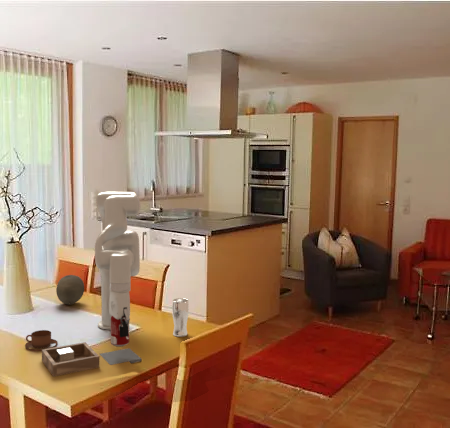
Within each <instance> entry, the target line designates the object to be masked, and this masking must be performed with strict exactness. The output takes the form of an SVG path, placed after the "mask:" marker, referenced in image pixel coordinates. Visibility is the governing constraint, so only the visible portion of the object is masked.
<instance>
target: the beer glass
mask: <svg viewBox="0 0 450 428" xmlns="http://www.w3.org/2000/svg"><path fill="white" fill-rule="evenodd" d="M189 307H190V306H189V299H188V298H181V297H178V298H174V299H173V300H172V306H171V310H172V312H171V313H172V320H173V325H174V326H173V333H172V335H173V336H174V337H179V338H183V337H186V336H187V335H188V330H187V324H188V319H189V310H190V308H189Z"/></svg>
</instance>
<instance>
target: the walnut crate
mask: <svg viewBox="0 0 450 428" xmlns="http://www.w3.org/2000/svg"><path fill="white" fill-rule="evenodd" d="M69 347H70V348H71V349H72V350H73V351H74V360H70V361H65V362H59V363H58V362H57V361H56V350H57V349H63V348H69ZM48 348H49V349H46V348H42V349H43V350H42V351H41V361H42V363H43V364H44V366H45V367H46V368H47V370H48V372H49V373H50V374H51V375H52V377H58V376H62V375H63V376H64V375H67V374H73V373H74V374H75V373H77V372H83V371H84V372H85V371H88V370H93V369H97V368H100V354H98V353H97V352H96V351H94V349H93V348H92V347H91V346H90V345H89V344H88V343H87V342H78V343H73V344H67V345H63V346H62V345H61V346H55V347H54V348H50V347H48Z"/></svg>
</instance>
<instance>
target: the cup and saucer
mask: <svg viewBox="0 0 450 428" xmlns="http://www.w3.org/2000/svg"><path fill="white" fill-rule="evenodd" d="M30 337H31V338H30ZM29 338H30V339H31V340H29ZM25 341H26V343H25V345H24V348H25V349H26V350H28V351H33V352H42V350H43V349H49V348H55V347H57V346H58V340H56V339H54V338H52V332H51V331H50V330H46V329H44V330H43V329H42V330H35V331H33V332H31V334H27V335H26V337H25ZM54 344H55V345H54ZM51 345H53V346H51ZM50 346H51V347H50Z"/></svg>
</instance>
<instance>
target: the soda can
mask: <svg viewBox="0 0 450 428" xmlns="http://www.w3.org/2000/svg"><path fill="white" fill-rule="evenodd" d="M124 317H125V316H122V318H124ZM123 321H125V319H124V320H122V322H123ZM120 326H121V325H120V319H119V320H117V319H116V318H114V317H113V316H112V317H111V330H110V344H111V345H112V346H115V347H119V348H120V347H125V346H126V345H128V344H129V343H130V325H129V326H128V336H126V337H120Z"/></svg>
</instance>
